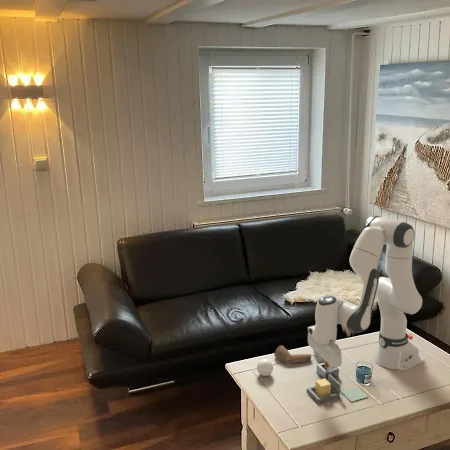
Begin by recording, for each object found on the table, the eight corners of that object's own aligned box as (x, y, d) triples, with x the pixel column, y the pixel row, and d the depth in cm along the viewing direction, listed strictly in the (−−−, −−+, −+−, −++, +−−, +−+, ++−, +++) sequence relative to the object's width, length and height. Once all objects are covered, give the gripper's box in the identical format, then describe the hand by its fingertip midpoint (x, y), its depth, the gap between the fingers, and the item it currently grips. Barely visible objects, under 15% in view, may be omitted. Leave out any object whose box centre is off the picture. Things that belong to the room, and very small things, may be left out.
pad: (356, 387, 222) (356, 386, 221) (367, 397, 214) (367, 396, 214) (340, 391, 219) (340, 390, 219) (351, 402, 212) (351, 401, 212)
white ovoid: (269, 369, 236) (269, 354, 234) (275, 377, 229) (275, 363, 227) (248, 372, 233) (248, 358, 231) (254, 381, 227) (254, 367, 224)
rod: (328, 372, 233) (329, 352, 230) (332, 375, 230) (333, 355, 227) (322, 373, 232) (323, 353, 229) (326, 377, 229) (327, 357, 226)
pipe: (314, 354, 239) (306, 340, 248) (279, 358, 235) (273, 344, 244) (312, 365, 241) (305, 351, 250) (278, 369, 238) (272, 355, 247)
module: (324, 390, 220) (324, 378, 218) (330, 396, 216) (330, 384, 214) (315, 393, 218) (315, 380, 216) (320, 399, 214) (321, 386, 212)
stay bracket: (329, 368, 235) (330, 361, 234) (338, 376, 229) (338, 368, 228) (316, 372, 233) (316, 364, 232) (324, 380, 227) (325, 372, 226)
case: (328, 385, 223) (329, 373, 221) (340, 397, 215) (341, 384, 213) (306, 391, 219) (307, 379, 217) (318, 403, 211) (318, 391, 209)
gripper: (346, 345, 201) (344, 377, 204) (318, 323, 219) (317, 352, 223) (332, 348, 198) (330, 380, 202) (305, 325, 217) (304, 355, 220)
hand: (323, 365), depth 213 cm, fingers open, 8 cm apart
